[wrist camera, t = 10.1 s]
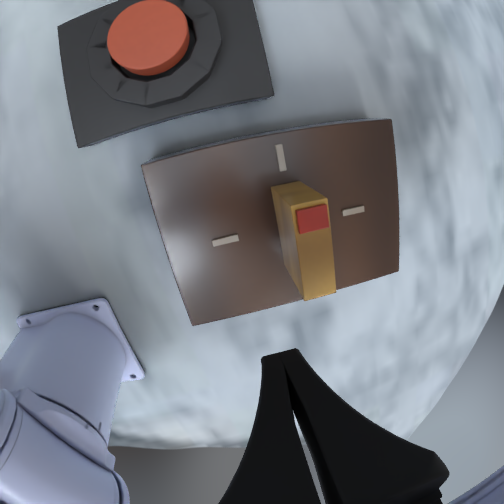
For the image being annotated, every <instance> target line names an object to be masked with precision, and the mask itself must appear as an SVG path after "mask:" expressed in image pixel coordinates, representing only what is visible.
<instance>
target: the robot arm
mask: <svg viewBox="0 0 504 504" xmlns="http://www.w3.org/2000/svg"><path fill="white" fill-rule="evenodd" d="M94 305H98V307H99V308H97V307H95V306H94ZM28 319H29V320H30V321H29V320H28ZM16 321H17V324H18V326H19V328H20V329H21V330H20V331H19V333H18V334H17V336H16V337H15V339H14V340H13V342H12V343H11V345H10V346H9V348H8V349H7V351H6V352H5V354H4V356H3V357H2V359H1V360H0V504H130V502H129V501H130V499H129V493H128V489H127V486H126V484H125V482H124V480H123V479H122V478H121V477H120V475H118V474H117V473H116V472H114V471H113V470H114V463H115V457H114V456H113V455H112V454H111V453H110V452H108V450H107V447H108V442H109V436H110V431H111V426H112V421H113V416H114V411H115V406H116V402H117V397H118V393H119V388H120V384H121V382H124V381H132V380H139V379H143V378H144V376H145V372H144V370H143V369H142V367H141V365H140V363H139V362H138V360H137V358H136V356H135V354H134V352H133V351H132V349H131V347H130V345H129V343H128V341H127V339H126V337H125V335H124V333H123V331H122V330H121V328H120V326H119V324H118V321H117V319H116V317H115V315H114V313H113V311H112V309H111V307H110V305H109V303H108V301H107V300H106V299H104V298H98V299H93V300H89V301H85V302H80V303H76V304H71V305H67V306H62V307H58V308H53V309H49V310H45V311H40V312H36V313H31V314H26V315H22V316H19V317H18V318H17V320H16ZM261 363H262V379H261V389H260V396H259V403H258V408H257V412H256V417H255V421H254V425H253V429H252V432H251V435H250V438H249V441H248V444H247V447H246V450H245V453H244V455H243V458H242V460H241V462H240V465H239V467H238V469H237V471H236V473H235V475H234V477H233V479H232V481H231V483H230V485H229V487H228V489H227V491H226V493H225V494H224V496H223V497H222V499H221V500H220V502H219V504H321V502H320V500H319V497H318V493H317V491H316V488H315V485H314V482H313V479H312V475H311V473H310V469H309V466H308V464H307V460H306V457H305V454H304V451H303V448H302V444H301V441H300V438H299V435H298V431H297V428H296V425H295V420H294V415H293V411H294V414H295V416H296V419H297V421H298V424H299V426H300V429H301V431H302V434H303V436H304V439H305V441H306V444H307V446H308V448H309V451H310V453H311V456H312V459H313V462H314V465H315V468H316V472H317V475H318V479H319V482H320V485H321V489H322V492H323V496H324V499H325V503H326V504H443V503H442V502H441V499H440V498H441V497H442V494H441V492H440V490H439V487H440V486H441V485H442V484H443V483H444V482H445V481H446V480H447V478H448V477H449V471H448V469H447V467H446V465H445V464H444V463H443V462H442V460H441V459H440V458H439V457H438V455H437V454H436V453H435V452H434V451H431V450H428V449H425V448H422V447H420V446H418V445H415V444H413V443H410V442H408V441H406V440H404V439H402V438H400V437H398V436H396V435H394V434H392V433H391V432H389V431H387V430H385V429H384V428H382V427H380V426H378V425H377V424H375V423H373V422H372V421H370V420H369V419H367V418H366V417H365V416H363V415H362V414H360V413H359V412H358V411H356V410H355V409H354V408H352V407H351V406H350V405H349V404H347V403H346V402H345V401H344V400H343V399H342V398H341V397H339V396H338V395H337V394H336V393H335V392H334V391H333V390H332V389H331V388H330V387H329V386H328V385H327V384H326V383H325V382H324V381H323V380H322V379H321V378H320V377H319V376H318V375H317V374H316V372H315V371H314V370H313V369H312V368H311V366H310V365H309V364H308V363H307V361H306V360H305V359H304V357H303V356H302V354H301V353H300V351H299V350H298V349H296V348H295V349H291V350H287V351H283V352H279V353H275V354H271V355H267V356H263V357H262V359H261ZM132 374H134V375H132ZM448 504H504V466H502V467H501V468H500V469H498V470H497V471H496V472H495V473H493V474H492V475H490V476H489V477H488V478H486V479H485V480H484V481H482V482H481V483H479V484H478V485H476V486H475V487H473V488H472V489H470V490H469V491H467V492H466V493H464V494H463V495H461V496H459V497H458V498H456V499H455V500H453V501H451V502H449V503H448Z"/></svg>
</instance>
